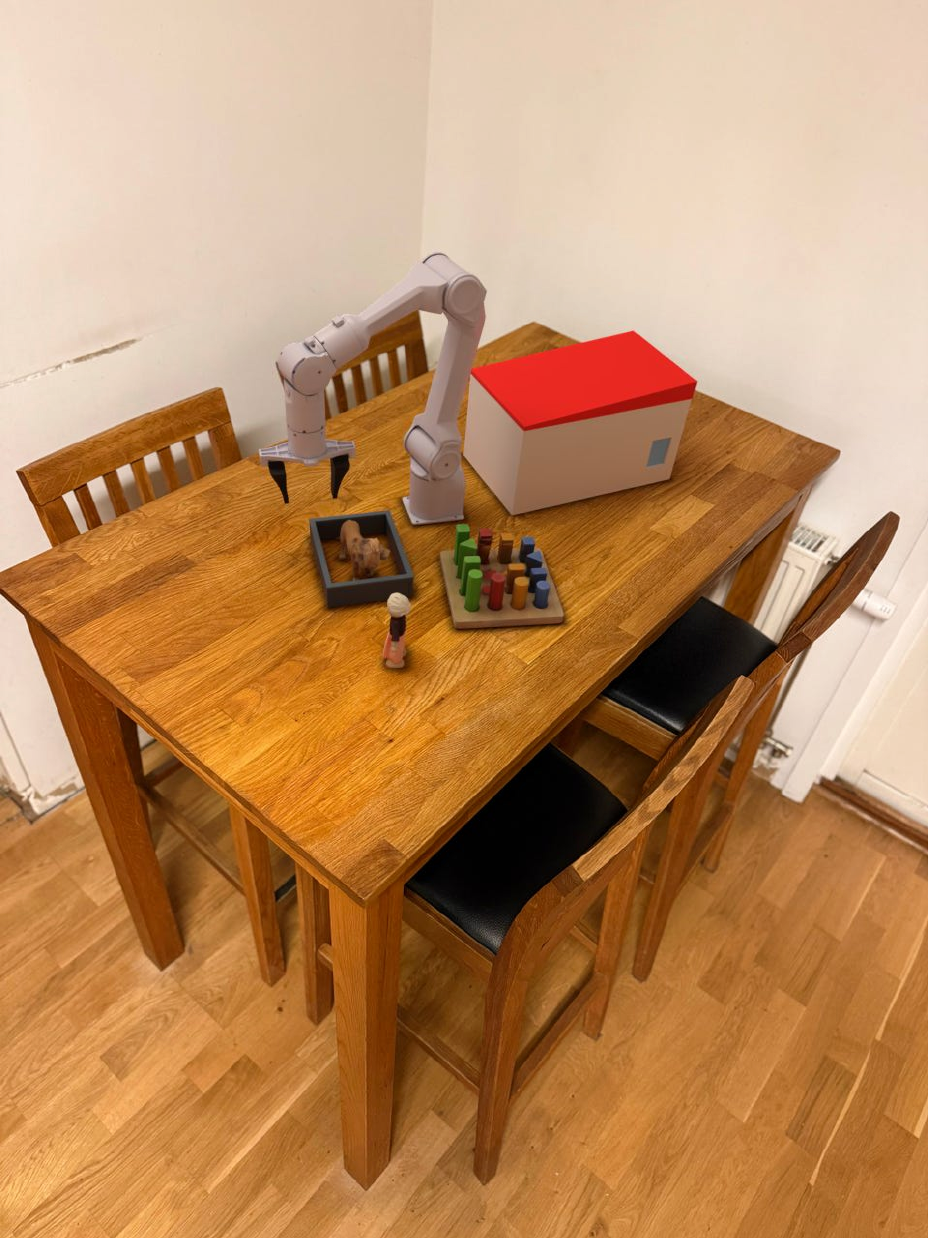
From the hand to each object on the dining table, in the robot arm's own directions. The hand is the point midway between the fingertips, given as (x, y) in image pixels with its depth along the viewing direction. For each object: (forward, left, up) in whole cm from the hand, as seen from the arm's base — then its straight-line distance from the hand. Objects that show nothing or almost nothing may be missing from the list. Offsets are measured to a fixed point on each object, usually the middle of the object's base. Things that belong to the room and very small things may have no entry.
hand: (310, 497), depth 142 cm
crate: (-7, +7, -10) cm, 14 cm away
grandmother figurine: (-8, +29, -10) cm, 31 cm away
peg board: (-28, +17, -10) cm, 34 cm away
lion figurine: (-7, +7, -10) cm, 14 cm away
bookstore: (-52, -15, -10) cm, 55 cm away
